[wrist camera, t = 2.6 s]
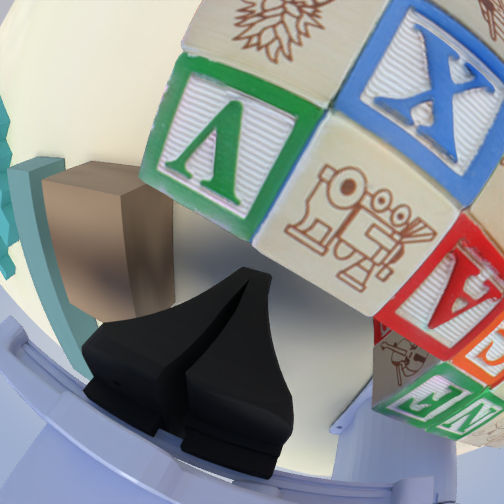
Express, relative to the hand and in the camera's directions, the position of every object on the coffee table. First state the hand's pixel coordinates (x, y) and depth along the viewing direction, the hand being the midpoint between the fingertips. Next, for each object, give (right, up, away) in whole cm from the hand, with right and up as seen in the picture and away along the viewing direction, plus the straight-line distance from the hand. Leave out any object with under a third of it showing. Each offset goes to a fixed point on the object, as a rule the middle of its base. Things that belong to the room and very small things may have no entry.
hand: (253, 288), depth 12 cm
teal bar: (-16, -1, +8) cm, 17 cm away
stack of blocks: (+11, +6, -9) cm, 16 cm away
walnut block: (-7, +3, +3) cm, 8 cm away
